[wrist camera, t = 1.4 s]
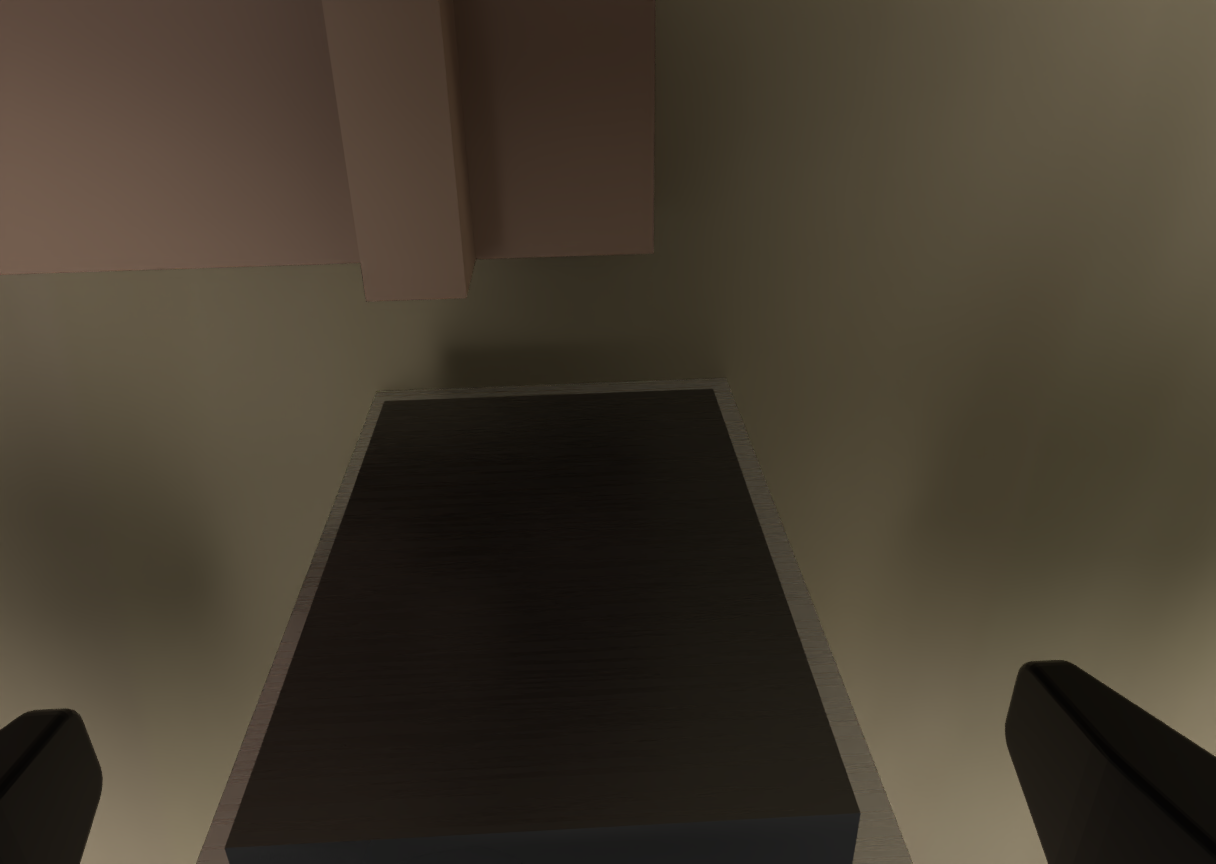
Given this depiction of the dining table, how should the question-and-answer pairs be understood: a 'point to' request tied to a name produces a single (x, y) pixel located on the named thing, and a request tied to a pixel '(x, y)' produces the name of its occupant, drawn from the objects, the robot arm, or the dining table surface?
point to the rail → (325, 135)
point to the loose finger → (554, 651)
